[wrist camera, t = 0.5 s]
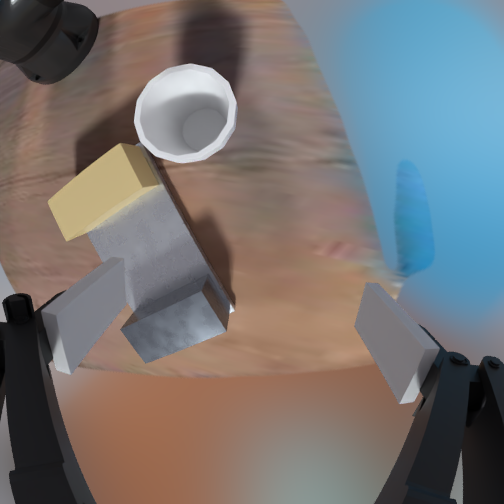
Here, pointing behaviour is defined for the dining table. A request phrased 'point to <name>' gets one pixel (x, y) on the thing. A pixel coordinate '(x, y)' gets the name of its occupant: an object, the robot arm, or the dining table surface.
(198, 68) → the foam cup
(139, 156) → the block
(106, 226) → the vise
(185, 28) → the dining table surface
